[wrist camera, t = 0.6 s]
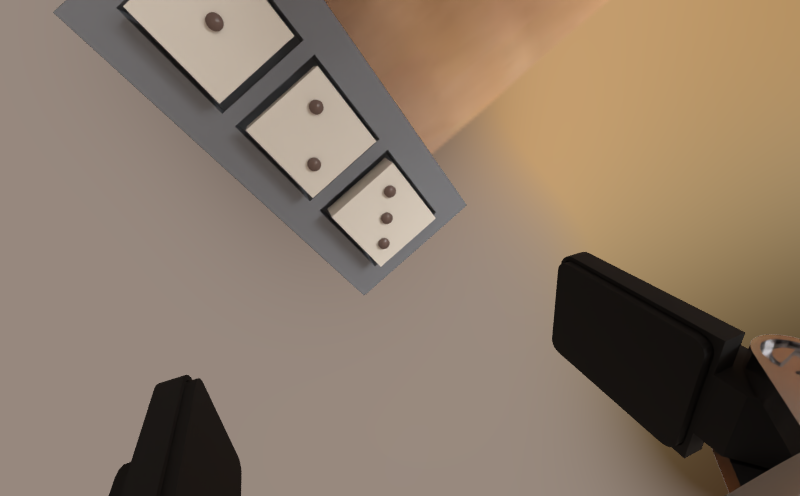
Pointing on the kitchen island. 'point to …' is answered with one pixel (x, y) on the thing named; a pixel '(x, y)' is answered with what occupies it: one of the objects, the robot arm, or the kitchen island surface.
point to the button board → (226, 122)
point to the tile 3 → (381, 212)
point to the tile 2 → (311, 132)
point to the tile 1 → (214, 37)
